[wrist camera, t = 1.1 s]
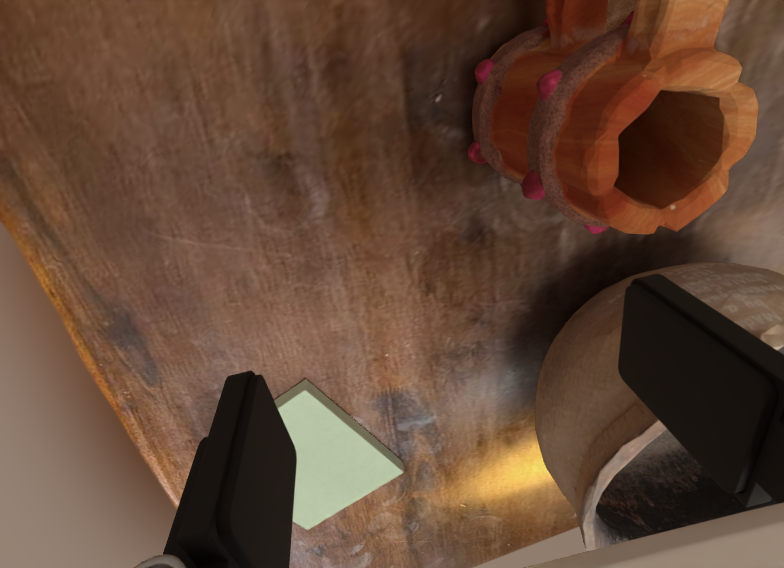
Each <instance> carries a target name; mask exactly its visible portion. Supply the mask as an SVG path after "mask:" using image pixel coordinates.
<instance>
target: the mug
mask: <svg viewBox="0 0 784 568" xmlns="http://www.w3.org/2000/svg"><path fill="white" fill-rule="evenodd" d="M545 2H546V15H547V18H546V19H545V20H544V21H543V25H542V26H540V27H537V28H535V29H532V30H529V31H526V32H524V33H521V34H519V35H518V36H516V37H515V38H513V39H512V40H510V41H509V42H508V43H506V44H503V45H502V46H501V47H500V48H499V49H498V51H497V52H496V53H495V54H494V55H493V56H492V57H491V58H490V59H486V60H484V61H481V62H480V63H479V64H478V65H477V67H476V69H475V78H476V80H477V82H478V86H477V89H476V92H475V95H474V101H473V108H472V129H473V133H474V140H475V141H474V142H473V143H472V144H471V146H470V148H469V149H468V156H469V159H471V160H472V161H474V162H476V163H478V164H481V163H486V162H488V163H489V164H490V165H491V167H493V168H494V169H495V170H496V171H497V172H499V173H500V174H501V175H502V176H503V177H505V178H507V179H509V180H511V181H513V182H515V183H520V185H521V187H522V192H523V195H524V196H525V198H530V199H536V200H541V199H543V198H544V199H545V200H546V202H547V203H548V204H550V205H551V206H552V207H554V208H555V209H556V210H558V211H559V212H561V213H562V214H564V215H565V216H566V217H568V218H569V219H571V220H573V221H575V222H578V223H580V224H583V225H584V227H585V228H586V229H587V230H589V231H590V232H592V233H593V234H598V233H603V232H604V231H606V230H607V229H608V228H609V227H612V228H615V229H617V230H619V231H622V232H625V233H627V234H652V233H654V232H655V230H656V229H657V227H658V226H663V227H666V228H669V229H672V230H674V231H678V230H680V229H681V228H683V227H684V226H685V225H687V224H688V223H689V222H691V221H692V220H693V219H695V218H696V217H697V216H699V215H700V214H701V213H703V212H704V211H705V210H707V209H708V208H709V207H710V206H711V205H712V204H714V203H715V202H716V201H717V200H718V199H719V198H721V197H722V196H723V194H724V193H725V191H726V190H727V188H728V170H729V169H730V168H731V167H732V165H734V164H735V163H736V162H737V161H739V160H740V159H741V158H742V157H744V156H745V154H746V153H747V151H748V149H749V147H750V145H751V144H752V142H753V140H754V138H755V137H756V126H757V115H758V104H759V103H758V101H757V98H756V96H755V93H754V91H753V89H751V88H749V87H747V86H745V85H743V84H741V83H740V82H738V79H739V76H740V73H741V70H742V67H741V65H740V64H739V62H738V60H737V59H735V58H733V57H731V56H729V55H727V54H725V53H722V52H718V51H715V49H714V47H713V46H714V43H715V39H716V36H717V33H718V30H719V27H720V24H721V21H722V18H723V15H724V11H725V9H726V6H727V4H728V2H729V0H637V3H636V7H635V10H634V11H632V12H631V14H630V15H629V16H628V17H627V18H626V20H625V21H624V22H623V23H622V24H621V26H620V27H619V28H617V29H614V30H611V31H609V32H607V28H606V17H607V4H608V0H545Z"/></svg>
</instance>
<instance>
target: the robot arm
mask: <svg viewBox="0 0 784 568" xmlns="http://www.w3.org/2000/svg"><path fill="white" fill-rule="evenodd" d="M618 371H619V374H620V376H621V378H622V380H623V381H624V382H625V383H626V384H627V385H628V386H629V388H630V389H631V390H632V391H633V392H634V393H635V394H636V395H637V396H638V397H639V399H640V400H641V401H642V402H643V403H644V404H645V405H646V406H647V407H648V408H649V410H650V411H651V412H652V413H653V414H654V415H655V416H656V417H657V418H658V419H659V421H660V422H661V423H662V424H663V425H664V426H665V427H666V428H667V429H668V430H669V432H670V433H671V434H672V435H673V436H674V437H675V438H676V439H677V440H678V441H679V442H680V444H681V445H682V446H683V447H684V448H685V449H686V450H687V451H688V452H689V453H690V455H691V456H692V457H693V458H694V459H695V460H696V461H697V462H698V463H699V464H700V466H701V467H702V468H703V469H704V470H705V471H706V472H707V473H708V474H709V475H710V477H711V478H712V479H713V480H714V481H715V482H716V483H717V484H718V485H719V486H720V487H721V488H722V489H723V490H724V491H725V492H727V493H730V494H732V493H733V494H734V495H735V496H736V497H737V498H738V499H739V501H740V502H741V503H742V504H743V505H744V506H745V507H750V506H754V505H758V504H762V503H766V502H769V501H771V499H773V500H774V501H775V502H776V503H777V504H775V505H771V506H767V507H762V508H758V509H754V510H750V511H746V512H742V513H738V514H734V515H730V516H726V517H722V518H718V519H714V520H710V521H706V522H702V523H698V524H694V525H690V526H686V527H682V528H678V529H674V530H670V531H666V532H662V533H658V534H654V535H650V536H646V537H642V538H638V539H634V540H630V541H626V542H622V543H618V544H614V545H611V546H607V547H603V548H599V549H595V550H591V551H587V552H583V553H579V554H575V555H571V556H568V557H564V558H560V559H556V560H552V561H548V562H544V563H540V564H536V565H532V566H529V567H525V568H784V355H783V354H782V353H780V352H779V351H777V350H776V349H774V348H773V347H771V346H770V345H768V344H767V343H765V342H764V341H762V340H761V339H759V338H758V337H756V336H754V335H753V334H751V333H750V332H748V331H747V330H745V329H744V328H742V327H741V326H739V325H738V324H736V323H735V322H733V321H732V320H730V319H729V318H727V317H725V316H724V315H722V314H721V313H719V312H718V311H716V310H715V309H713V308H712V307H710V306H709V305H707V304H706V303H704V302H703V301H701V300H700V299H698V298H697V297H695V296H693V295H692V294H690V293H689V292H687V291H686V290H684V289H683V288H681V287H680V286H678V285H677V284H675V283H674V282H672V281H671V280H669V279H668V278H666V277H665V276H663V275H661V274H652V275H648V276H644V277H640V278H635V279H634V280H632V282H631V284H630V286H628V287H627V288H626V290H625V298H624V308H623V318H622V329H621V339H620V350H619V360H618ZM296 466H297V455H296V449H295V446H294V444H293V442H292V439H291V437H290V435H289V433H288V430H287V428H286V426H285V424H284V422H283V419H282V417H281V415H280V413H279V411H278V408H277V406H276V404H275V402H274V400H273V397H272V395H271V393H270V391H269V389H268V386H267V384H266V382H265V380H264V378H263V376H262V375H255V374H254V372H253V371H247V372H243V373H239V374H235V375H231V376H228V377H227V379H226V381H225V384H224V387H223V391H222V394H221V397H220V400H219V403H218V407H217V410H216V413H215V416H214V420H213V423H212V426H211V429H210V432H209V436H208V437H205V438H203V439H202V440H201V442H200V444H199V446H198V449H197V452H196V455H195V458H194V461H193V464H192V467H191V470H190V473H189V476H188V479H187V482H186V485H185V488H184V491H183V494H182V497H181V500H180V503H179V506H178V510H177V513H176V516H175V519H174V522H173V525H172V528H171V531H170V534H169V537H168V540H167V544H166V546H165V549H164V552H163V555H158V556H154V557H152V558H149V559H147V560H145V561H143V562H141V563H140V564H138V565H137V566H136V567H134V568H289V561H290V548H291V534H292V520H293V507H294V493H295V479H296Z"/></svg>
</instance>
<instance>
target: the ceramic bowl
mask: <svg viewBox="0 0 784 568" xmlns="http://www.w3.org/2000/svg"><path fill="white" fill-rule="evenodd" d="M652 274H661V275H663V276H665V277H666V278H668V279H669V280H671V281H672V282H674V283H675V284H677V285H678V286H680V287H681V288H683V289H684V290H686V291H687V292H689V293H690V294H692V295H693V296H695V297H697V298H698V299H700V300H701V301H703V302H704V303H706V304H707V305H709V306H710V307H712V308H713V309H715V310H716V311H718V312H719V313H721V314H722V315H724V316H725V317H727V318H729V319H730V320H732V321H733V322H735V323H736V324H738V325H739V326H741V327H742V328H744V329H745V330H747V331H748V332H750V333H751V334H753V335H754V336H756V337H758V338H759V339H761V340H762V341H764V342H765V343H767V344H768V345H770V346H771V347H773V348H774V349H776V350H777V351H779V352H780V353H782V354H783V355H784V275H782V274H779V273H776V272H774V271H771V270H767V269H762V268H757V267H751V266H746V265H741V264H735V263H722V262H703V263H689V264H682V265H676V266H669V267H665V268H661V269H657V270H652V271H648V272H644V273H640V274H637V275H633V276H630V277H627V278H625V279H623V280H622V281H620V282H618V283H615V284H613V285H611V286H609V287H607V288H605V289H603V290H602V291H600V292H599V293H597V294H596V295H595V296H593V297H592V298H591V299H589V300H588V301H587V302H586V303H585V304H584V305H583V306H582V307H581V308H580V309H579V310H577V311H576V312H575V313H574V314H573V315H572V317H571V318H570V319H569V320H568V321H567V322H566V323H565V325H564V327H563V328H562V329H561V331H560V332H559V333H558V334H557V336H556V337H555V338H554V340H553V342H552V344H551V345H550V347H549V350H548V353H547V354H546V356H545V359H544V361H543V363H542V367H541V371H540V375H539V380H538V385H537V391H536V399H535V420H536V421H535V430H536V434H537V439H538V443H539V447H540V451H541V454H542V457H543V460H544V463H545V465H546V468H547V470H548V471H549V473H550V474H551V476H552V477H553V479H554V480H555V482H556V483H557V485H558V487H559V488H560V490H561V491H562V493H563V494H564V496H565V497H566V498H567V499H568V501H569V502H570V503H571V504H572V506H573V507H574V508H575V510H576V514H577V518H578V522H579V526H580V529H581V533H582V537H583V542H584V545H585V548H586V551H591V550H595V549H599V548H603V547H607V546H611V545H614V544H618V543H622V542H626V541H630V540H634V539H638V538H642V537H646V536H650V535H654V534H658V533H662V532H666V531H670V530H674V529H678V528H682V527H686V526H690V525H694V524H698V523H702V522H706V521H710V520H714V519H718V518H722V517H726V516H730V515H734V514H738V513H742V512H746V511H750V510H754V509H758V508H762V507H767V506H771V505H775V504H777V503H776V502H775V501H774V500H773V499H771V501H769V502H766V503H762V504H758V505H754V506H750V507H745V506H744V505H743V504H742V503H741V502H740V501H739V499H738V498H737V497H736V496H735V495H734V494H733V493H732V494H730V493H727V492H725V491H724V490H723V489H722V488H721V487H720V486H719V485H718V484H717V483H716V482H715V481H714V480H713V479H712V478H711V477H710V475H709V474H708V473H707V472H706V471H705V470H704V469H703V468H702V467H701V466H700V464H699V463H698V462H697V461H696V460H695V459H694V458H693V457H692V456H691V455H690V453H689V452H688V451H687V450H686V449H685V448H684V447H683V446H682V445H681V444H680V442H679V441H678V440H677V439H676V438H675V437H674V436H673V435H672V434H671V433H670V432H669V430H668V429H667V428H666V427H665V426H664V425H663V424H662V423H661V422H660V421H659V419H658V418H657V417H656V416H655V415H654V414H653V413H652V412H651V411H650V410H649V408H648V407H647V406H646V405H645V404H644V403H643V402H642V401H641V400H640V399H639V397H638V396H637V395H636V394H635V393H634V392H633V391H632V390H631V389H630V388H629V386H628V385H627V384H626V383H625V382H624V381H623V380H622V378H621V376H620V374H619V371H618V360H619V350H620V339H621V329H622V318H623V308H624V298H625V290H626V288H627V287H628V286H630V284H631V282H632V280H634V279H635V278H640V277H644V276H648V275H652Z"/></svg>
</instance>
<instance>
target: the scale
mask: <svg viewBox="0 0 784 568" xmlns="http://www.w3.org/2000/svg"><path fill="white" fill-rule="evenodd" d="M274 402H275V404H276V406H277V408H278V411H279V413H280V415H281V417H282V419H283V422H284V424H285V426H286V428H287V430H288V433H289V435H290V437H291V439H292V442H293V444H294V446H295V449H296V455H297V466H296V479H295V493H294V507H293V520H292V521H294V522H295V523H297V524H298V525H300V526H302V527H303V528H305V529H307V530H308V529H310V528H312V527H313V526H315V525H317V524H318V523H320V522H322V521H323V520H325V519H327V518H328V517H330V516H332V515H334V514H335V513H337V512H339V511H340V510H342V509H344V508H345V507H347V506H349V505H350V504H352V503H354V502H355V501H357V500H359V499H360V498H362V497H364V496H365V495H367V494H369V493H370V492H372V491H374V490H375V489H377V488H379V487H380V486H382V485H384V484H385V483H387V482H389V481H390V480H392V479H394V478H395V477H397V476H399V475H400V474H402V473H403V472H404V471H403V466H402V461H401V460H400V459H399V458H398V457H397V456H396V455H394V454H393V453H392V452H391V451H390V450H389V449H387V448H386V447H385V446H384V445H383V444H382V443H380V442H379V441H378V440H377V439H376V438H375V437H373V436H372V435H371V434H370V433H369V432H368V431H366V430H365V429H364V428H363V427H362V426H361V425H359V424H358V423H357V422H356V421H355V420H354V419H352V418H351V417H350V416H349V415H348V414H347V413H345V412H344V411H343V410H342V409H341V408H339V407H338V406H337V405H336V404H335V403H334V402H332V401H331V400H330V399H329V398H328V397H327V396H325V395H324V394H323V393H322V392H321V391H320V390H318V389H317V388H316V387H315V386H314V385H313V384H311V383H310V382H309V381H308V380H307V379H305V380H303V381H302V382H300V383H299V384H298V385H296V386H295V387H293V388H292V389H290V390H289V391H287V392H286V393H284V394H283V395H281V396H280V397H279V398H277V399H276V400H274Z"/></svg>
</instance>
